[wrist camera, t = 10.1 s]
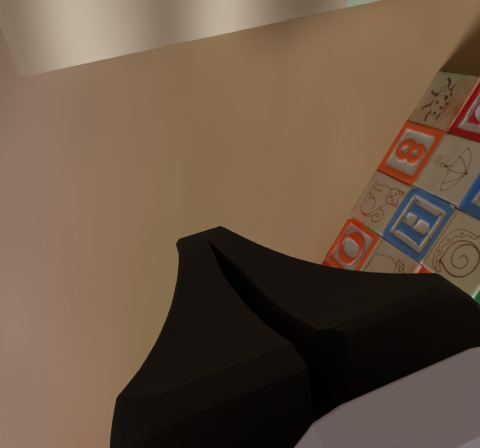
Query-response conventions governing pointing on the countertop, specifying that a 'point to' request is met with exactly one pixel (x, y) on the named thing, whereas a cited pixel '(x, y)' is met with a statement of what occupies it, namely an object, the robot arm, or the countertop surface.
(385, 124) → the countertop surface
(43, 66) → the chute board
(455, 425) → the robot arm
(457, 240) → the stack of blocks
